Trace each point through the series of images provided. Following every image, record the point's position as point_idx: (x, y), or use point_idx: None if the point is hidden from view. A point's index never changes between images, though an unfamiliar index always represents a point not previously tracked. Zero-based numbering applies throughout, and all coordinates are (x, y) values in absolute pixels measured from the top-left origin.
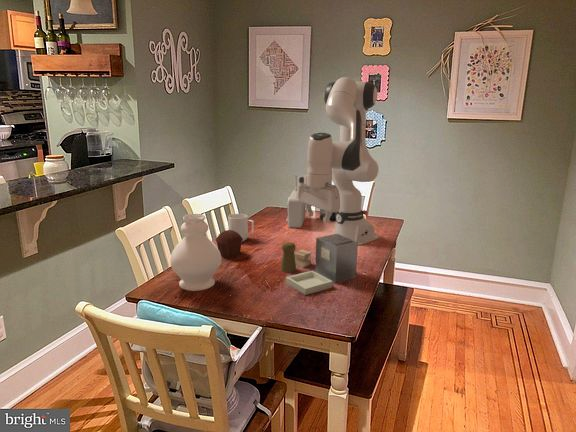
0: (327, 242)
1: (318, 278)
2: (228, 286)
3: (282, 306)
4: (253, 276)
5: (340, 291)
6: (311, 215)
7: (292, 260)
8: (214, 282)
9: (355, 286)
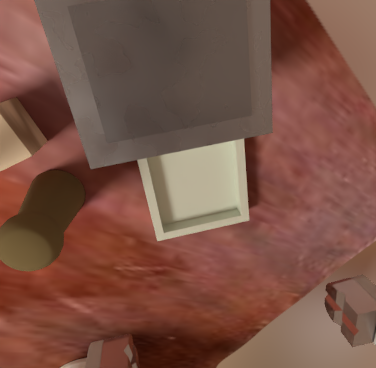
0: (188, 145)
1: None
2: None
3: (265, 268)
4: (83, 287)
5: None
6: (130, 348)
7: (69, 207)
8: None
9: None
